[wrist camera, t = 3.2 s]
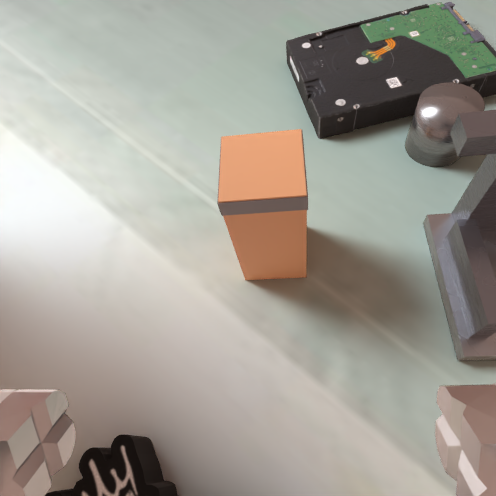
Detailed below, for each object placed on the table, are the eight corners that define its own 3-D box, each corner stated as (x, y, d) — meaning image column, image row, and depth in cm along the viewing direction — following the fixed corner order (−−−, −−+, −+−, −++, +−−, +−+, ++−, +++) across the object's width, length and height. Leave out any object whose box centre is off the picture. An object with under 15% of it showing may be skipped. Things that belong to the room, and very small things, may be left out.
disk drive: (319, 146, 31) (499, 97, 30) (320, 120, 28) (516, 66, 28) (285, 68, 36) (439, 25, 35) (283, 39, 33) (449, -7, 33)
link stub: (445, 175, 27) (466, 134, 24) (394, 152, 29) (407, 110, 25) (472, 140, 28) (495, 95, 25) (421, 119, 30) (437, 75, 26)
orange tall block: (307, 277, 25) (308, 195, 17) (244, 280, 25) (217, 202, 17) (303, 224, 27) (302, 128, 19) (245, 228, 27) (220, 136, 19)
